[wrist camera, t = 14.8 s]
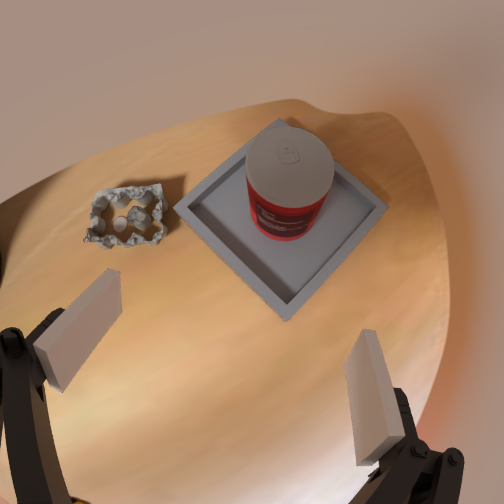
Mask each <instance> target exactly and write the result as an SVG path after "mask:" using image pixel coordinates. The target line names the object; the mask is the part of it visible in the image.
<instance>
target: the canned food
mask: <svg viewBox="0 0 504 504" xmlns="http://www.w3.org/2000/svg"><path fill="white" fill-rule="evenodd" d="M245 170H246V171H245V172H246V181H247V189H248V197H249V205H250V213H251V217H252V220H253V222H254V224H255V226H256V227H257V228H258V229H259V230H260V232H262V233H263V234H264V235H265V236H267V237H269V238H271V239H274V240H277V241H292V240H296V239H298V238H300V237H302V236H304V235H305V234H306V233H307V232H308V231H309V230H310V229H311V227H312V226H313V224H314V222H315V219H316V217H317V215H318V213H319V211H320V209H321V207H322V205H323V203H324V201H325V198H326V196H327V194H328V192H329V189H330V187H331V184H332V182H333V177H334V161H333V158H332V155H331V153H330V151H329V149H328V147H327V146H326V145H325V144H324V142H323V141H322V140H320V139H319V138H318V137H317V136H315V135H314V134H312V133H311V132H309V131H306V130H304V129H301V128H297V127H290V126H283V127H276V128H272V129H269V130H267V131H265V132H263V133H261V134H260V135H259V136H257V137H256V138H255V139H254V140H253V141H252V143H251V145H250V146H249V148H248V151H247V154H246V161H245Z"/></svg>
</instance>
